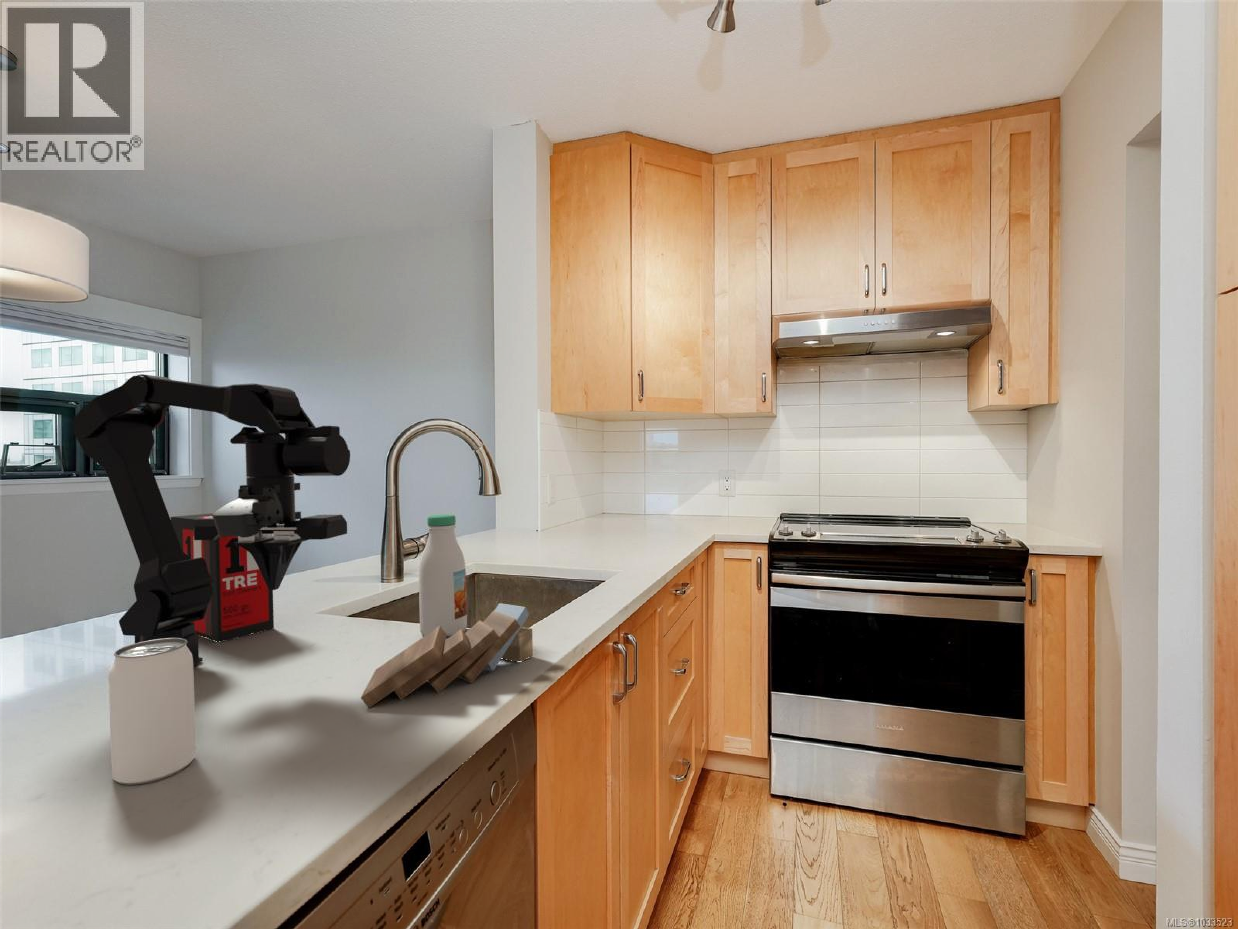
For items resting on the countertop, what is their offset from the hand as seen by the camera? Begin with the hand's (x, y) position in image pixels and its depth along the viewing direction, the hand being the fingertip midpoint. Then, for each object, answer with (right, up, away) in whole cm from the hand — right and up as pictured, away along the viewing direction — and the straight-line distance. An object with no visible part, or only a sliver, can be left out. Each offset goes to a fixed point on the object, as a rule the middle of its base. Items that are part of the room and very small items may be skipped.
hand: (273, 589), depth 82 cm
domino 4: (+26, -11, -2) cm, 28 cm away
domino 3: (+23, -11, -5) cm, 26 cm away
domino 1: (+16, -11, -6) cm, 21 cm away
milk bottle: (+18, -12, +20) cm, 29 cm away
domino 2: (+20, -11, -6) cm, 23 cm away
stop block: (+32, -11, +7) cm, 34 cm away
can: (+2, -13, -24) cm, 27 cm away
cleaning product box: (-23, -12, +24) cm, 35 cm away
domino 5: (+28, -11, 0) cm, 30 cm away
